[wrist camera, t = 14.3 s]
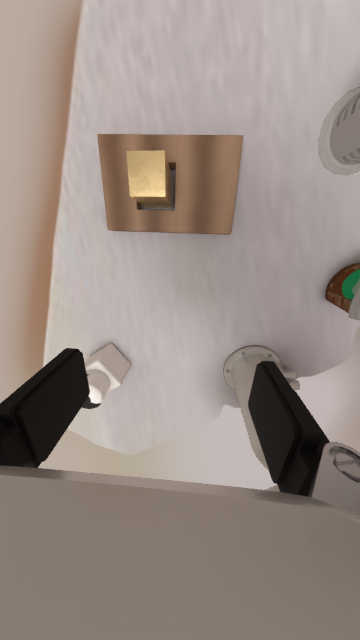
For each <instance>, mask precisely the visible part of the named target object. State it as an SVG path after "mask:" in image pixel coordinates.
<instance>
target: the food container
mask: <svg viewBox="0 0 360 640" xmlns="http://www.w3.org/2000/svg"><path fill="white" fill-rule="evenodd" d="M325 297H326V300H328V301H329V302H331V303H333V304H334V305H336V306H337V307H339V308H341V309H342V310H344V311H346V312H347V313H349V318H352V319H355V320H360V263H356V264H352V265H349V266H347V267H345V268H343V269H341V270H340V271H339V272H338V273H337V274H336V275H334V277H333V278H332V279H331V281H330V282H329V284H328V286H327V289H326V294H325Z"/></svg>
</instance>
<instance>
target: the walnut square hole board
mask: <svg viewBox="0 0 360 640" xmlns="http://www.w3.org/2000/svg"><path fill="white" fill-rule="evenodd" d="M97 135H98V144H99V154H100V163H101V172H102V181H103V190H104V200H105V209H106V218H107V227H108V230H112V231H135V232H167V233H198V234H231V229H232V221H233V213H234V205H235V197H236V190H237V182H238V174H239V166H240V158H241V150H242V142H243V136H242V135H131V134H97ZM158 150H165V153H166V156H167V159H168V163H169V166H170V169H171V170H176V184H175V211H165V210H141V204H140V203H138V202H137V201H136V200H134V199H133V198H131V197H130V191H129V179H128V166H127V153H126V151H158Z"/></svg>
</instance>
